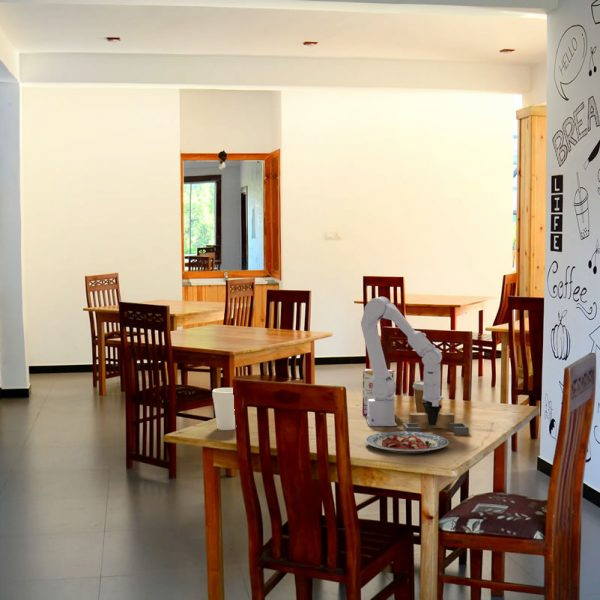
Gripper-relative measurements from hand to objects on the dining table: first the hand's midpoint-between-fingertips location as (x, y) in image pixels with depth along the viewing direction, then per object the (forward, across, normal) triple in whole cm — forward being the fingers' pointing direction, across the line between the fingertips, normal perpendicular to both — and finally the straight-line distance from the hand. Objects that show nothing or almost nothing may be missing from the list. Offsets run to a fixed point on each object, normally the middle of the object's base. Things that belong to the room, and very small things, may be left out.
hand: (431, 423), depth 314 cm
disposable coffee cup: (+2, +21, -2) cm, 21 cm away
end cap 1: (+1, -8, +8) cm, 11 cm away
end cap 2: (+1, -8, -8) cm, 11 cm away
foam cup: (+2, +1, +70) cm, 70 cm away
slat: (+2, 0, 0) cm, 2 cm away
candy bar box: (+2, +23, +16) cm, 28 cm away
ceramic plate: (+2, -27, +12) cm, 30 cm away
